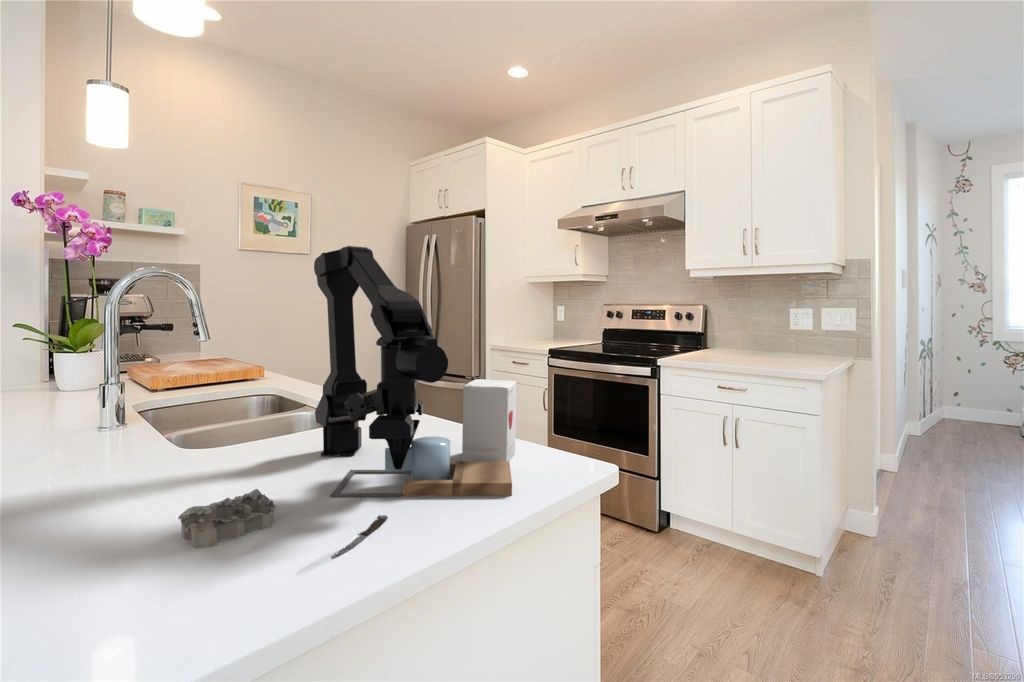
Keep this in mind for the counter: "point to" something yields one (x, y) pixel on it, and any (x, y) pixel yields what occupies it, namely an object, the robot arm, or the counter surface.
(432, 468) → the jug
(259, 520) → the egg carton
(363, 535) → the knife
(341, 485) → the frame
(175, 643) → the counter surface
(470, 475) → the cradle
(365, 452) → the counter surface
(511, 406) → the supplement box
